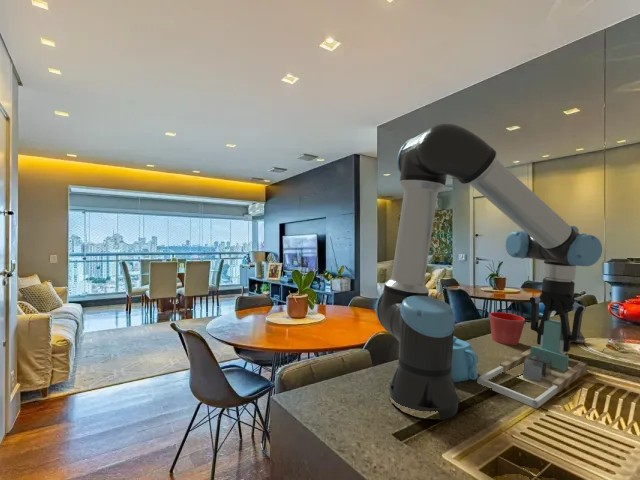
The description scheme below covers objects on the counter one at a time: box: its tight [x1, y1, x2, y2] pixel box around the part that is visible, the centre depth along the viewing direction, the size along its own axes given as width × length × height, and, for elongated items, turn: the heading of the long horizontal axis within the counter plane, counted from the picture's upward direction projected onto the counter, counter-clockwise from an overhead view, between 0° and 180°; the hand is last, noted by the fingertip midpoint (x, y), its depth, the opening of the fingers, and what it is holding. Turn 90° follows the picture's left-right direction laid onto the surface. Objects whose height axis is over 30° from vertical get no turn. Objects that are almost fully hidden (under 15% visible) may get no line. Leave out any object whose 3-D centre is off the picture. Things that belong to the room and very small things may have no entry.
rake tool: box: [530, 318, 570, 371], centre depth 98 cm, size 5×9×12 cm, turn 38°
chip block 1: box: [523, 359, 543, 383], centre depth 90 cm, size 4×4×4 cm
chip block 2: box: [530, 355, 552, 378], centre depth 93 cm, size 4×4×4 cm
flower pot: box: [488, 311, 526, 346], centre depth 118 cm, size 11×11×10 cm
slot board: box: [499, 348, 588, 394], centre depth 95 cm, size 22×14×3 cm, turn 127°
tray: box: [476, 365, 558, 409], centre depth 84 cm, size 12×14×2 cm
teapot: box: [451, 335, 479, 383], centre depth 93 cm, size 13×11×18 cm
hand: (551, 358), depth 98 cm, fingers closed on rake tool, 4 cm apart
